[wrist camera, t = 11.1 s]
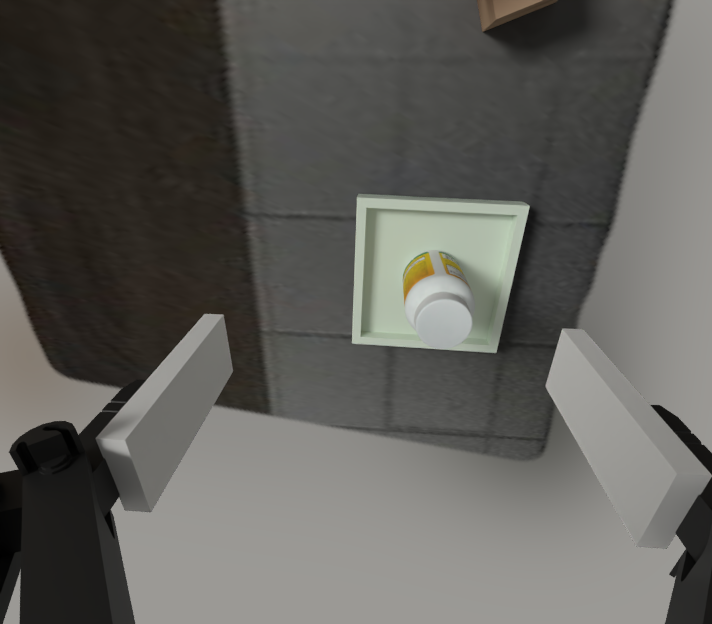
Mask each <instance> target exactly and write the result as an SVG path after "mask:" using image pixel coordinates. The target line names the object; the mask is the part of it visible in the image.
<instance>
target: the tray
mask: <svg viewBox="0 0 712 624" xmlns="http://www.w3.org/2000/svg"><path fill="white" fill-rule="evenodd" d="M529 207H530V206H529V205H528V204H526V203H524V202H519V201H499V200H478V199H457V198H436V197H416V196H395V195H374V194H358V197H357V216H356V245H355V273H354V301H353V330H352V343H353V344H369V345H384V346H399V347H414V348H429V349H437V348H433V347H430V346H428V345H427V344H425V343H424V342H423V341H422V340H421V339H420V338H419V336H418V334H417V332H416V331H415V330H414V329H413V328H412V326H411V325H410V324H409V322H408V320H407V318H406V314H405V306H404V294H403V272H404V269H405V267H406V265H407V264H408V262H409V261H410V260H411V259H412V258H413V257H415V256H416V255H418V254H419V253H421V252H424V251H428V250H440V251H444V252H446V253H448V254H450V255H451V256H453V257H454V258H455V259H456V261H457V262H458V263H459V265H460V267H461V269H462V271H463V274H464V276H465V278H466V280H467V282H468V284H469V286H470V288H471V291H472V293H473V295H474V299H475V311H474V315H473V317H472V321H473V324H472V329H471V332H470V334H469V336H468V337H467V338H466V339H465V340H464V341H463V342H462V343H460V344H459V345H457V346H455V347H452V348H448V349H444V350H459V351H474V352H489V353H496V352H497V348H498V343H499V339H500V335H501V330H502V326H503V321H504V317H505V313H506V308H507V304H508V300H509V295H510V291H511V286H512V282H513V278H514V273H515V269H516V264H517V260H518V256H519V251H520V247H521V242H522V238H523V234H524V229H525V225H526V220H527V216H528V212H529Z"/></svg>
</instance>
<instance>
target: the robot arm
mask: <svg viewBox="0 0 712 624" xmlns="http://www.w3.org/2000/svg"><path fill="white" fill-rule="evenodd" d="M232 372H233V368H232V362H231V356H230V351H229V345H228V339H227V333H226V327H225V321H224V315H217V314H204V315H203V316H202V318H201V319H200V320H199V321H198V322H197V323H196V324H195V326H194V327H193V328H192V329H191V330H190V331H189V332H188V334H187V335H186V336H185V337H184V338H183V339H182V340H181V342H180V343H179V344H178V345H177V346H176V347H175V348H174V349H173V351H172V352H171V353H170V354H169V355H168V356H167V357H166V359H165V360H164V361H163V362H162V363H161V364H160V365H159V367H158V368H157V369H156V370H155V371H154V372H153V373H152V375H151V376H150V377H149V378H148V379H147V380H135V381H134V382H132V383H131V384H129V385H128V386H126V387H124V388H123V389H121V390H120V391H119V392H118V394H117V395H116V396H115V397H114V398H113V399H112V400H111V403H108V404H107V405H106V406H105V407H104V409H103V410H102V412H100V413H99V414H98V415H97V416H96V417H95V418H94V419H93V420H92V421H91V422H90V424H89V425H88V426H87V427H86V428H85V429H84V430H83V431H82V432H81V433H80V434H79V435H78V434H77V431H76V429H75V427H74V426H73V424H72V423H69V422H66V421H54V422H51V423H46V424H42V425H40V426H38V427H36V428H33V429H31V430H29V431H28V432H26V433H25V434H23V435H22V436H20V437H19V438H18V439H17V440H16V441H15V442H14V444H13V445H12V447H11V449H10V451H9V453H10V455H11V456H12V458H13V460H14V462H15V464H16V465H17V467H18V469H19V470H14V471H8V472H3V473H0V624H3V621H4V618H5V615H6V612H7V609H8V606H9V603H10V600H11V596H12V594H13V591H14V587H15V584H16V581H17V578H18V575H19V572H20V569H21V586H20V589H21V590H20V624H135V620H134V615H133V610H132V605H131V601H130V596H129V591H128V586H127V581H126V577H125V571H124V567H123V561H122V556H121V551H120V546H119V542H118V536H117V531H116V526H115V521H114V517H113V514H112V512H111V508H112V506H113V505H114V503H115V502H116V500H117V499H118V497H120V500H121V502H122V505H123V507H124V510H129V511H141V512H151V511H152V510H153V508H154V506H155V504H156V503H157V501H158V499H159V498H160V496H161V494H162V492H163V491H164V489H165V487H166V485H167V484H168V482H169V480H170V479H171V477H172V475H173V473H174V472H175V470H176V468H177V467H178V465H179V463H180V462H181V460H182V458H183V456H184V455H185V453H186V451H187V449H188V448H189V446H190V444H191V443H192V441H193V439H194V437H195V436H196V434H197V432H198V431H199V429H200V427H201V425H202V424H203V422H204V420H205V418H206V417H207V415H208V413H209V412H210V410H211V408H212V406H213V405H214V403H215V401H216V400H217V398H218V396H219V394H220V393H221V391H222V389H223V388H224V386H225V384H226V382H227V381H228V379H229V377H230V375H231V374H232ZM545 387H546V388H547V390H548V392H549V394H550V396H551V397H552V399H553V401H554V403H555V404H556V406H557V408H558V409H559V411H560V413H561V415H562V417H563V418H564V420H565V422H566V424H567V425H568V427H569V429H570V431H571V432H572V434H573V436H574V438H575V439H576V441H577V443H578V445H579V447H580V448H581V450H582V452H583V454H584V455H585V457H586V459H587V461H588V462H589V464H590V466H591V468H592V470H593V471H594V473H595V475H596V477H597V478H598V480H599V482H600V484H601V485H602V487H603V489H604V491H605V492H606V494H607V496H608V498H609V499H610V501H611V503H612V505H613V506H614V508H615V510H616V512H617V514H618V515H619V517H620V519H621V521H622V522H623V524H624V526H625V528H626V529H627V531H628V533H629V535H630V536H631V538H632V540H633V542H634V544H635V545H636V547H648V548H662V549H667V548H668V546H669V545H670V543H671V541H672V540H673V538H674V537H675V535H676V534H677V536H678V537H679V539H680V540H681V542H682V543H683V545H684V546H685V547H686V550H685V551H684V553H683V555H682V556H681V557H680V559H679V560H678V562H677V563H676V565H675V566H674V568H673V569H672V571H671V572H670V575H671V576H673V577H675V576H676V579H675V584H674V588H673V592H672V596H671V601H670V605H669V609H668V614H667V618H666V622H665V624H712V453H711V452H710V451H709V450H708V449H707V448H706V447H705V446H704V445H702V444H701V441H700V440H699V439H698V438H697V437H696V436H695V435H694V434H691V431H690V430H689V429H688V427H687V426H686V425H684V423H683V422H682V421H681V420H680V419H679V418H678V417H677V416H675V415H674V414H672V413H671V412H669V411H667V410H666V409H665V408H663V407H662V406H660V405H649V403H648V402H647V401H646V400H645V399H644V398H643V397H642V396H641V394H640V393H639V392H638V391H637V390H636V389H635V387H633V385H632V384H631V383H630V382H629V381H628V380H627V378H626V377H625V376H624V375H623V374H622V373H621V372H620V371H619V369H618V368H617V367H616V366H615V365H614V364H613V363H612V362H611V360H610V359H609V358H608V357H607V356H606V355H605V353H604V352H603V351H602V350H601V349H600V348H599V347H598V346H597V345H596V343H595V342H594V341H593V340H592V339H591V338H590V336H589V335H588V334H587V333H586V332H585V331H584V330H583V329H562V331H561V335H560V338H559V342H558V345H557V349H556V352H555V355H554V359H553V362H552V366H551V369H550V373H549V376H548V379H547V383H546V386H545Z"/></svg>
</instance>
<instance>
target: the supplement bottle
mask: <svg viewBox="0 0 712 624" xmlns="http://www.w3.org/2000/svg"><path fill="white" fill-rule="evenodd" d="M403 294H404V306H405V314H406V318H407V320H408V322H409V324H410V325H411V326H412V328H413V329H414V330H415V331H416V332H417V334H418V336H419V338H420V339H421V340H422V341H423V342H424V343H425V344H427V345H428V346H430V347H433V348H437V349H448V348H452V347H455V346H457V345H459V344H460V343H462V342H463V341H464V340H465V339H466V338H467V337H468V336H469V334H470V332H471V329H472V324H473V321H472V317H473V315H474V311H475V299H474V295H473V293H472V291H471V288H470V286H469V284H468V282H467V280H466V278H465V276H464V274H463V271H462V269H461V267H460V265H459V263H458V262H457V261H456V259H455V258H454V257H453V256H451V255H450V254H448V253H446V252H444V251H440V250H428V251H424V252H421V253H419V254H418V255H416V256H415V257H413V258H412V259H411V260H410V261H409V262H408V264H407V265H406V267H405V269H404V272H403Z"/></svg>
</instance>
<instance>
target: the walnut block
mask: <svg viewBox="0 0 712 624" xmlns="http://www.w3.org/2000/svg"><path fill="white" fill-rule="evenodd" d="M557 1H558V0H477V2H478V8H479V14H480V20H481V26H482V31H483V32H484V31H486V30H489V29H491V28H494V27H496V26H499V25H501V24H504V23H506V22H508V21H511V20H513V19H516V18H518V17H521V16H523V15H526V14H528V13H531V12H533V11H536V10H538V9H541V8H543V7H545V6H548V5H550V4H553V3H555V2H557Z"/></svg>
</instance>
